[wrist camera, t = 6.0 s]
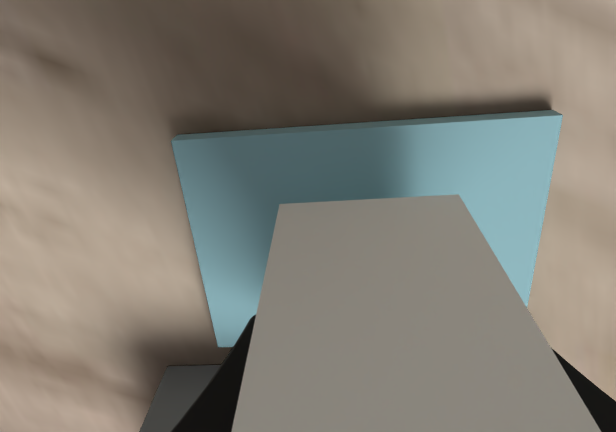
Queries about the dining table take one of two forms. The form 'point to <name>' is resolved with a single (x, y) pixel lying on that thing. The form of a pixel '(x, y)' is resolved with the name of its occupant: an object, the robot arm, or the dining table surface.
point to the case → (176, 395)
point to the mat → (360, 188)
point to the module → (396, 328)
